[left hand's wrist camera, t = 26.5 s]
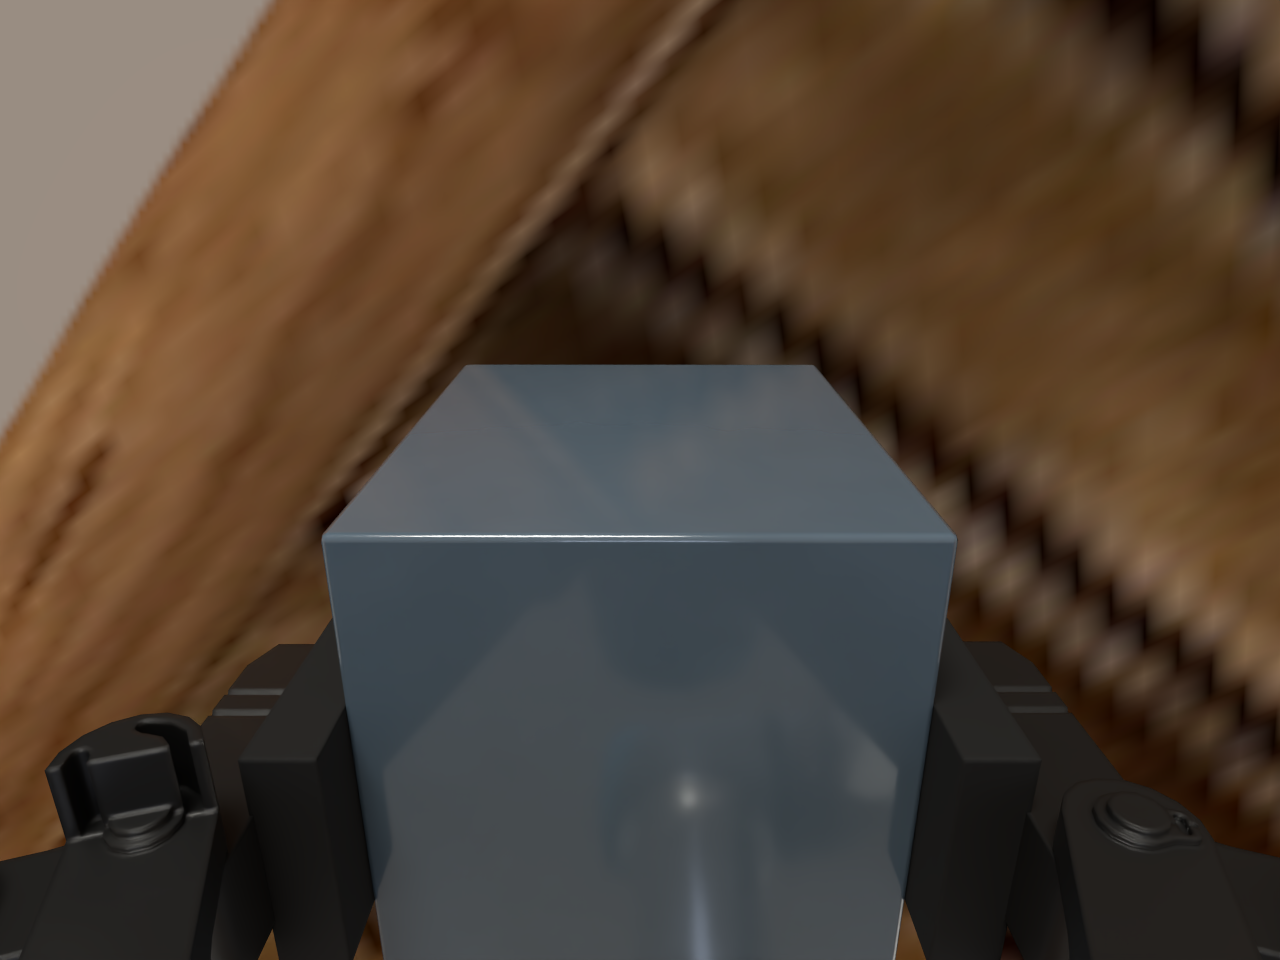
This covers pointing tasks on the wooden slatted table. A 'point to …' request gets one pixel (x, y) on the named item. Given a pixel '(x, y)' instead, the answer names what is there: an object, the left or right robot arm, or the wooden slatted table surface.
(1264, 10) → the wooden slatted table surface
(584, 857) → the block
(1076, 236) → the wooden slatted table surface
